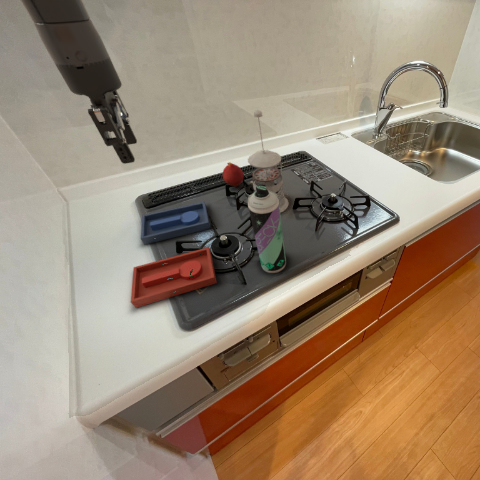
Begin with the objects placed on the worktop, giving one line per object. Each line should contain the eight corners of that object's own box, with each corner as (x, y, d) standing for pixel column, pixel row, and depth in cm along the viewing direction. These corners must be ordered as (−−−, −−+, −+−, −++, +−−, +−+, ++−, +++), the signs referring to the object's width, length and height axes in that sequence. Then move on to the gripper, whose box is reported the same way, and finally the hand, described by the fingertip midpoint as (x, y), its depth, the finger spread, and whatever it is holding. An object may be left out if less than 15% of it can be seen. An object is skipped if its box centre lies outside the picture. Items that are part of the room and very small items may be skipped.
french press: (246, 210, 74) (224, 115, 56) (266, 187, 81) (253, 98, 64) (279, 218, 71) (266, 121, 54) (296, 194, 79) (291, 103, 61)
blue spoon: (152, 234, 66) (149, 229, 65) (152, 223, 69) (150, 218, 68) (200, 223, 69) (198, 218, 68) (198, 212, 72) (197, 208, 71)
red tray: (135, 307, 52) (130, 302, 51) (137, 273, 58) (133, 267, 57) (216, 283, 56) (214, 277, 55) (211, 253, 62) (208, 247, 61)
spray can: (258, 258, 61) (241, 182, 47) (281, 251, 63) (271, 176, 49) (265, 276, 58) (248, 199, 44) (289, 268, 59) (280, 192, 45)
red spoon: (144, 293, 54) (141, 289, 53) (145, 277, 57) (141, 272, 55) (203, 276, 57) (201, 271, 56) (201, 261, 60) (199, 256, 59)
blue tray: (144, 244, 64) (140, 238, 63) (145, 221, 70) (142, 215, 69) (210, 228, 68) (208, 222, 67) (206, 207, 74) (204, 201, 73)
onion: (236, 179, 85) (231, 155, 79) (249, 185, 82) (244, 161, 77) (222, 187, 81) (215, 163, 76) (235, 194, 79) (228, 169, 73)
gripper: (63, 50, 47) (113, 141, 58) (40, 69, 37) (104, 173, 49) (113, 47, 49) (151, 135, 60) (102, 65, 40) (150, 165, 51)
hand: (130, 152), depth 54 cm, fingers open, 8 cm apart
